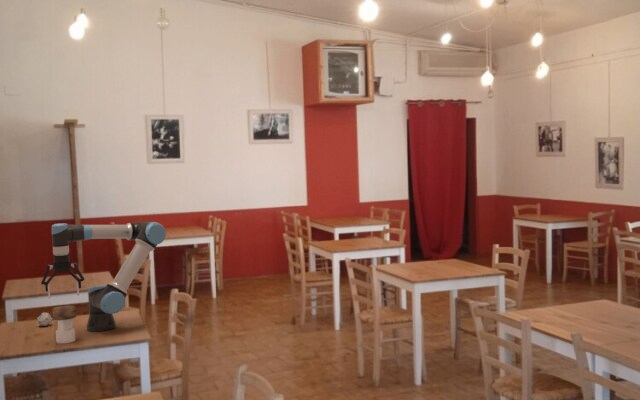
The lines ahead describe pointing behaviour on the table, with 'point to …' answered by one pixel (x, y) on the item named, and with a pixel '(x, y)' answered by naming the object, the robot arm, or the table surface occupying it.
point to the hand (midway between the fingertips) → (64, 296)
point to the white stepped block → (65, 331)
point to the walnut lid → (64, 312)
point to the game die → (44, 319)
